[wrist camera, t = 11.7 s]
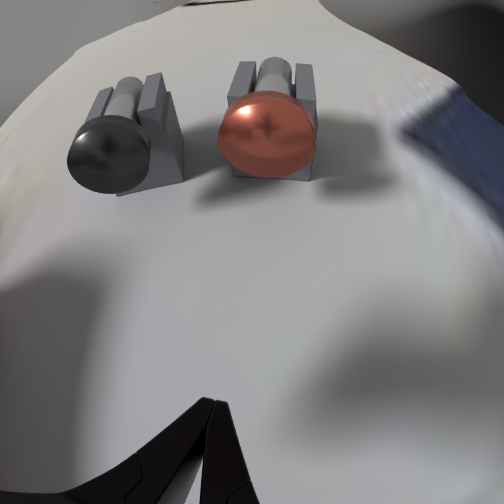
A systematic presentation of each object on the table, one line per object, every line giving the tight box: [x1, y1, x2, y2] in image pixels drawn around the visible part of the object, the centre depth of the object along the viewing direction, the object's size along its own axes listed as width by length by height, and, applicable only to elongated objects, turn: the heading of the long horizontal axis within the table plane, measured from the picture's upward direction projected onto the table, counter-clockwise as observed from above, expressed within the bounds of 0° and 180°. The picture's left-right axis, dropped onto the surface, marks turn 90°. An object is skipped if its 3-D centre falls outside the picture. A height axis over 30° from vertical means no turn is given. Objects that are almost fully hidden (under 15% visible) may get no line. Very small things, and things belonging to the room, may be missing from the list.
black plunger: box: [67, 77, 151, 194], centre depth 16 cm, size 9×5×5 cm, turn 9°
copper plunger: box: [218, 57, 315, 178], centre depth 16 cm, size 9×5×5 cm, turn 174°
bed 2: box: [227, 61, 318, 181], centre depth 20 cm, size 6×6×8 cm
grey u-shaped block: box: [84, 73, 184, 196], centre depth 20 cm, size 6×6×8 cm
